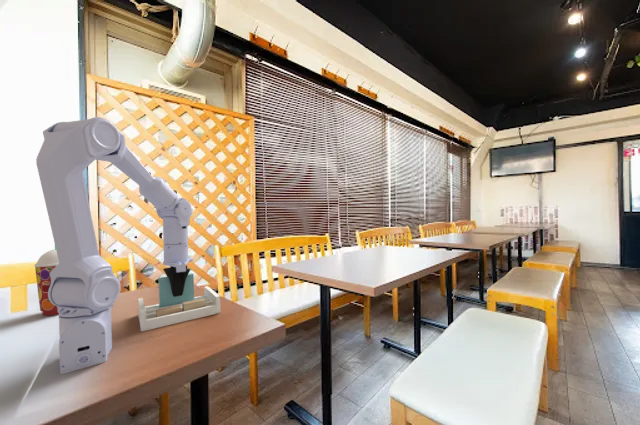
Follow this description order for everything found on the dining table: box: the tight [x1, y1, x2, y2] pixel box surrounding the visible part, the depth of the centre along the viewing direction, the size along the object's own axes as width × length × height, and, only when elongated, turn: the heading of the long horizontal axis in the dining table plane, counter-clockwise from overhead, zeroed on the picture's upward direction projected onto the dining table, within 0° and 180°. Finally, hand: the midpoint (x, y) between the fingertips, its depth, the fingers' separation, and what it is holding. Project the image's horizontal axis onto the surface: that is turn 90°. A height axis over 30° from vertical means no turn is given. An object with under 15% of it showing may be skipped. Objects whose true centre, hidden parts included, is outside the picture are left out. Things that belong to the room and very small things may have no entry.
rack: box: [137, 286, 221, 332], centre depth 68 cm, size 12×17×5 cm
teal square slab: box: [158, 272, 195, 308], centre depth 71 cm, size 2×8×8 cm, turn 127°
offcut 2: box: [182, 298, 206, 311], centre depth 67 cm, size 2×5×4 cm, turn 127°
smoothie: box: [34, 246, 59, 317], centre depth 74 cm, size 8×8×20 cm
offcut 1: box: [156, 305, 181, 317], centre depth 64 cm, size 2×5×3 cm, turn 127°
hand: (177, 294), depth 71 cm, fingers closed on teal square slab, 2 cm apart
